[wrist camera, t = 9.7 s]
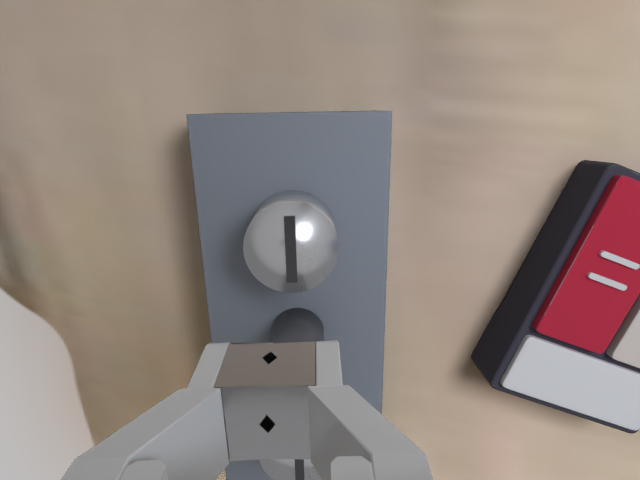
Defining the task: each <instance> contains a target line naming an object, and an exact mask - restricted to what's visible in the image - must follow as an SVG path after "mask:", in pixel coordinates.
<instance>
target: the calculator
mask: <svg viewBox="0 0 640 480" xmlns="http://www.w3.org/2000/svg"><path fill="white" fill-rule="evenodd" d="M471 358H472V360H473V362H474V363H475V364H476V366H477V367H478V369H479V370H480V371H481V373H482V374H483V375H484V377H485V378H486V380H487V381H488V382H489V384H490V385H491V386H492V387H493V388H494V389H497V390H500V391H503V392H506V393H509V394H512V395H515V396H518V397H521V398H524V399H527V400H530V401H533V402H536V403H539V404H542V405H546V406H549V407H552V408H555V409H558V410H561V411H564V412H567V413H570V414H573V415H576V416H579V417H582V418H585V419H588V420H591V421H594V422H597V423H600V424H603V425H606V426H609V427H612V428H615V429H618V430H621V431H625V432H628V433H636V432H637V431H638V430H639V429H640V173H638V172H635V171H633V170H631V169H628V168H626V167H623V166H621V165H618V164H615V163H607V162H598V161H588V160H584V161H581V162H580V163H579V164H578V165H577V166H576V168H575V170H574V172H573V173H572V175H571V177H570V179H569V181H568V182H567V184H566V186H565V188H564V190H563V191H562V193H561V195H560V197H559V199H558V200H557V202H556V204H555V206H554V208H553V209H552V211H551V213H550V215H549V217H548V218H547V220H546V222H545V224H544V226H543V227H542V229H541V231H540V233H539V235H538V237H537V238H536V240H535V242H534V244H533V246H532V248H531V250H530V252H529V254H528V256H527V258H526V259H525V261H524V263H523V265H522V267H521V269H520V271H519V273H518V275H517V277H516V279H515V281H514V283H513V284H512V286H511V288H510V290H509V292H508V294H507V296H506V298H505V300H504V302H503V304H502V305H501V306H500V307H499V308H498V309H497V310H496V312H495V313H494V315H493V317H492V319H491V320H490V322H489V324H488V326H487V328H486V329H485V331H484V333H483V335H482V337H481V338H480V340H479V342H478V344H477V346H476V347H475V349H474V351H473V353H472V355H471Z"/></svg>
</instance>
